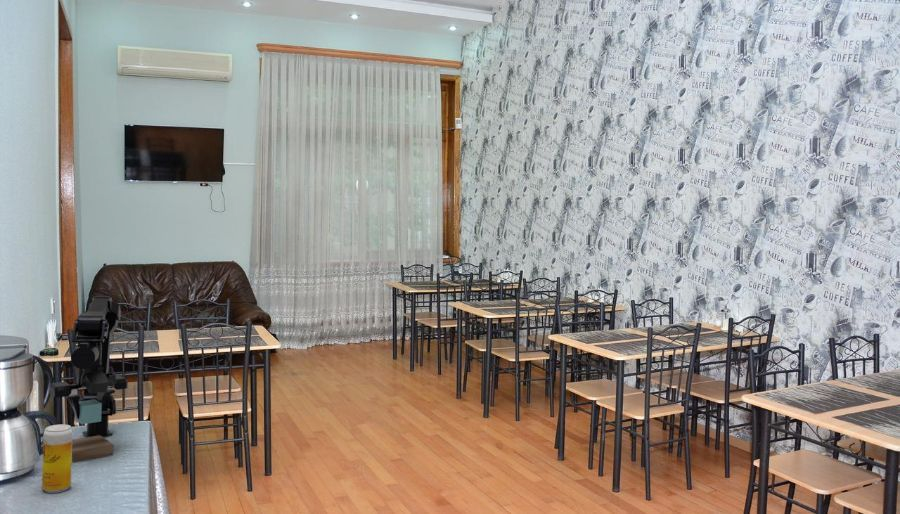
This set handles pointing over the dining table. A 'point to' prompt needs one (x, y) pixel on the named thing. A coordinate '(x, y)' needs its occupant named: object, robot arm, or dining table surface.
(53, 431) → the beer can
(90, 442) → the walnut base
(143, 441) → the dining table surface
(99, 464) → the dining table surface
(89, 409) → the block
